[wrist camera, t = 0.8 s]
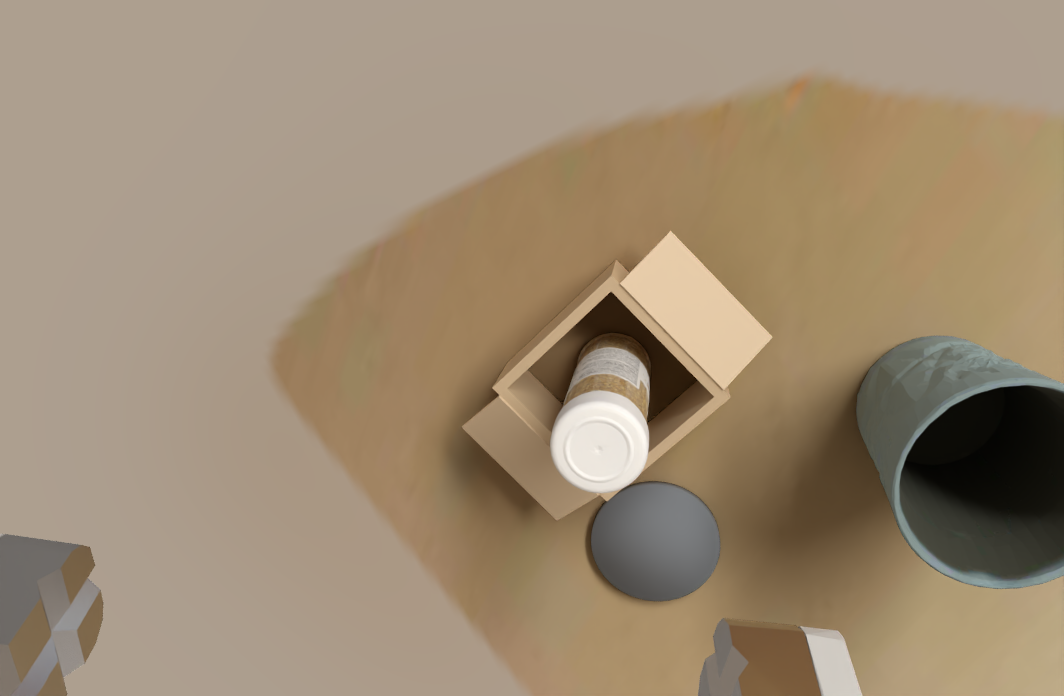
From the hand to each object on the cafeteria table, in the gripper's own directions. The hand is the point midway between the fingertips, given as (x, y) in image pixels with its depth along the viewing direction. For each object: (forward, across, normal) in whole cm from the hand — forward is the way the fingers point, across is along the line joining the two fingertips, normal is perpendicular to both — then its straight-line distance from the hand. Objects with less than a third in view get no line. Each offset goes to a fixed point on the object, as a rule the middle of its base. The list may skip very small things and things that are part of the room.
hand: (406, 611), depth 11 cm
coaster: (+33, +11, -30) cm, 46 cm away
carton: (+36, +7, -19) cm, 42 cm away
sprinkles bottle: (+36, +7, -20) cm, 42 cm away
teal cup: (+34, +26, -18) cm, 46 cm away
